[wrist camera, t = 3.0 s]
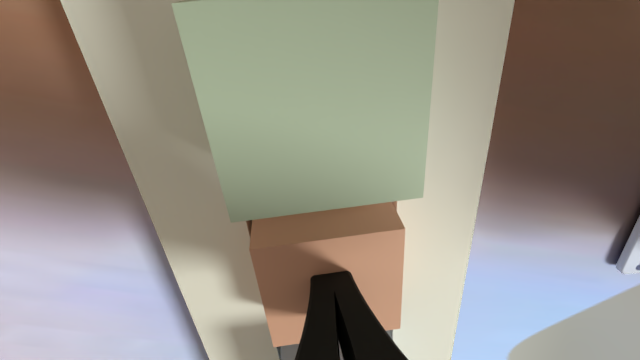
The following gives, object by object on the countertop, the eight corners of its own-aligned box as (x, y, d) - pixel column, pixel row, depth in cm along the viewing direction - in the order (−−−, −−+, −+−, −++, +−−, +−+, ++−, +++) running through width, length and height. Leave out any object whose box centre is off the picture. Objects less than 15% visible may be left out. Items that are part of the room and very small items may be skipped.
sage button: (394, -24, 9) (440, -25, 7) (391, 148, 12) (423, 197, 9) (202, -4, 9) (171, 3, 6) (241, 167, 11) (231, 222, 9)
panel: (502, -119, 10) (538, -135, 8) (434, 364, 21) (445, 391, 20) (61, -79, 9) (22, -89, 8) (239, 394, 21) (236, 424, 19)
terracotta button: (381, 181, 14) (405, 228, 11) (381, 273, 16) (400, 328, 14) (254, 197, 13) (248, 249, 11) (274, 287, 16) (273, 347, 13)
